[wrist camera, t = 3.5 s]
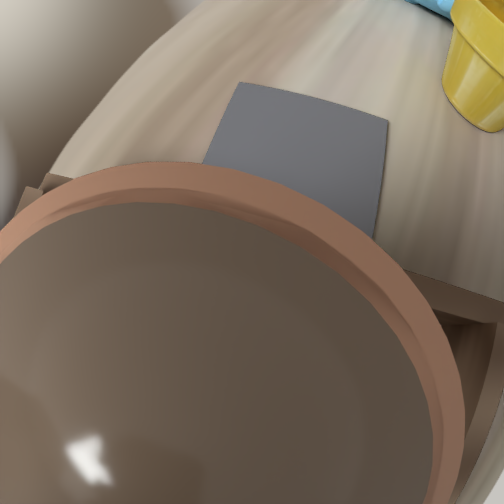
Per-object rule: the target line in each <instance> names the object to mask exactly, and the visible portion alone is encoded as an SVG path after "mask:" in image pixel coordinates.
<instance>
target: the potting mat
mask: <svg viewBox="0 0 504 504" xmlns="http://www.w3.org/2000/svg"><path fill="white" fill-rule="evenodd" d="M387 124H388V120H385V119H382V118H379V117H376V116H374V115H371V114H368V113H365V112H362V111H359V110H355V109H352V108H349V107H346V106H342V105H339V104H336V103H332V102H329V101H325V100H321V99H318V98H314V97H310V96H306V95H302V94H298V93H293V92H289V91H284V90H280V89H275V88H270V87H265V86H260V85H254V84H249V83H243V82H239V83H238V86H237V88H236V90H235V92H234V94H233V96H232V98H231V100H230V102H229V104H228V106H227V109H226V111H225V113H224V115H223V117H222V119H221V122H220V124H219V126H218V128H217V130H216V133H215V135H214V137H213V140H212V142H211V144H210V146H209V149H208V151H207V153H206V156H205V158H204V160H203V163H202V164H205V165H212V166H218V167H224V168H230V169H235V170H238V171H242V172H245V173H248V174H251V175H255V176H258V177H261V178H264V179H267V180H270V181H273V182H277V183H279V184H282V185H284V186H286V187H288V188H290V189H292V190H294V191H296V192H298V193H301V194H303V195H305V196H307V197H309V198H311V199H313V200H315V201H317V202H319V203H321V204H323V205H325V206H326V207H328V208H329V209H331V210H332V211H334V212H335V213H337V214H338V215H340V216H341V217H342V218H344V219H345V220H347V221H348V222H350V223H351V224H353V225H354V226H356V227H357V228H358V229H360V230H361V231H363V232H364V233H365V234H366V235H367V236H369V237H370V238H371V239H372V237H373V231H374V226H375V220H376V214H377V208H378V201H379V195H380V188H381V180H382V173H383V164H384V156H385V146H386V136H387Z"/></svg>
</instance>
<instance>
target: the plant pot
mask: <svg viewBox="0 0 504 504" xmlns="http://www.w3.org/2000/svg"><path fill="white" fill-rule="evenodd" d="M450 15H451V19H452V21H453V23H454V28H453V33H452V38H451V43H450V47H449V52H448V56H447V60H446V64H445V67H444V71H443V75H442V86H443V89H444V92H445V94H446V96H447V97H448V99H449V101H450V102H451V104H452V105H453V106H454V107H455V109H456V110H457V111H458V112H459V113H460V114H461V115H462V116H463V117H464V118H465V119H467V120H468V121H469V122H470V123H472V124H473V125H475V126H476V127H478V128H480V129H482V130H484V131H487V132H497V131H499V130H501V129H503V128H504V0H454V3H453V6H452V8H451V12H450Z"/></svg>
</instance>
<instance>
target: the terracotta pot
mask: <svg viewBox="0 0 504 504" xmlns="http://www.w3.org/2000/svg"><path fill="white" fill-rule="evenodd" d="M464 435H465V408H464V400H463V393H462V386H461V380H460V375H459V372H458V369H457V365H456V362H455V359H454V356H453V353H452V350H451V348H450V345H449V342H448V339H447V337H446V335H445V333H444V331H443V329H442V327H441V325H440V324H439V322H438V320H437V318H436V316H435V314H434V312H433V311H432V309H431V307H430V305H429V304H428V302H427V300H426V299H425V298H424V296H423V295H422V294H421V292H420V291H419V290H418V288H417V287H416V286H415V284H414V283H413V282H412V281H411V279H410V278H409V277H408V276H407V274H406V273H405V272H404V271H403V269H402V268H401V267H400V266H399V264H397V263H396V262H395V261H394V260H393V259H392V258H391V257H390V256H389V255H388V254H387V253H386V252H385V251H384V250H383V249H382V248H381V247H379V246H378V245H377V244H376V243H375V242H374V241H373V240H372V239H371V238H370V237H369V236H367V235H366V234H365V233H364V232H363V231H361V230H360V229H358V228H357V227H356V226H354V225H353V224H351V223H350V222H348V221H347V220H345V219H344V218H342V217H341V216H340V215H338V214H337V213H335V212H334V211H332V210H331V209H329V208H328V207H326V206H325V205H323V204H321V203H319V202H317V201H315V200H313V199H311V198H309V197H307V196H305V195H303V194H301V193H298V192H296V191H294V190H292V189H290V188H288V187H286V186H284V185H282V184H279V183H277V182H273V181H270V180H267V179H264V178H261V177H258V176H255V175H251V174H248V173H245V172H242V171H238V170H235V169H230V168H224V167H218V166H212V165H205V164H198V163H192V162H143V163H136V164H129V165H123V166H117V167H110V168H107V169H103V170H100V171H97V172H94V173H90V174H87V175H84V176H81V177H78V178H75V179H73V180H71V181H69V182H67V183H65V184H63V185H61V186H59V187H57V188H55V189H53V190H51V191H49V192H47V193H46V194H44V195H43V196H41V197H40V198H38V199H37V200H35V201H34V202H33V203H31V204H30V205H29V206H27V207H26V208H24V209H23V210H22V211H21V212H19V213H18V214H17V215H16V216H15V217H14V218H13V219H12V220H11V221H10V222H9V223H8V224H7V225H6V226H5V227H4V228H3V229H2V230H1V231H0V504H448V501H449V499H450V496H451V494H452V491H453V488H454V486H455V483H456V480H457V477H458V473H459V469H460V464H461V459H462V454H463V449H464Z"/></svg>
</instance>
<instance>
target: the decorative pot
mask: <svg viewBox="0 0 504 504" xmlns="http://www.w3.org/2000/svg"><path fill="white" fill-rule="evenodd" d="M405 1H407V2H409V3H412V4H418V3H419V4H421V5H423V6H425V7H427V8H429V9H431V10H433V11H435V12H437V13H439V14H441V15H443V16H445V17H447V18H448V19H449V20H450V21H451V22H453V21H452V19H451V15H450V12H451V8H452V6H453V3H454V0H405Z"/></svg>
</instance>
